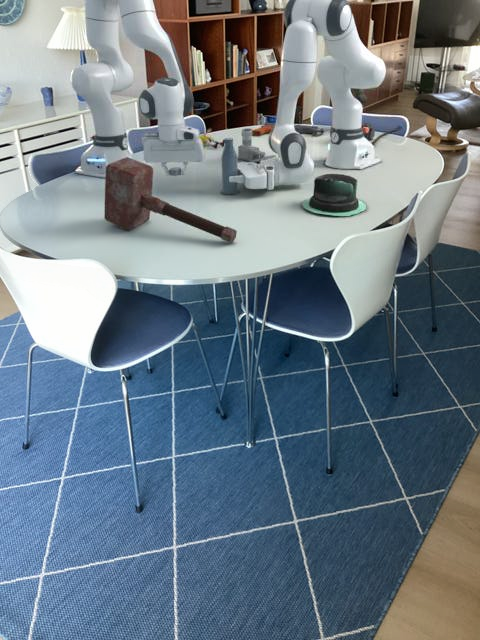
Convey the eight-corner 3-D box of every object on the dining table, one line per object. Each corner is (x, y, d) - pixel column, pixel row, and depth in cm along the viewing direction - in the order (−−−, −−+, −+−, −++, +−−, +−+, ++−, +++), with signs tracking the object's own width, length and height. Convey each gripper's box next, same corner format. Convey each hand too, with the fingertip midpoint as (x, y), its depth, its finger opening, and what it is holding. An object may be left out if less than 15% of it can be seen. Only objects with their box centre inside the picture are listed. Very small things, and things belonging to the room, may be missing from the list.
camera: (247, 126, 226) (276, 132, 217) (247, 155, 232) (275, 162, 223) (233, 130, 220) (262, 135, 212) (233, 160, 226) (261, 166, 218)
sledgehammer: (247, 201, 148) (125, 155, 160) (230, 213, 141) (104, 163, 152) (236, 257, 158) (122, 210, 170) (220, 270, 151) (102, 220, 162)
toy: (345, 120, 249) (377, 123, 242) (343, 139, 253) (375, 143, 246) (337, 123, 243) (369, 127, 236) (336, 143, 247) (367, 147, 240)
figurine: (211, 139, 238) (170, 125, 250) (210, 157, 242) (170, 142, 255) (230, 134, 247) (190, 120, 259) (229, 150, 251) (189, 136, 263)
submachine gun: (243, 132, 260) (267, 122, 278) (243, 138, 261) (267, 127, 280) (305, 138, 246) (326, 127, 265) (305, 144, 248) (326, 133, 266)
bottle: (226, 195, 187) (225, 141, 178) (219, 191, 191) (218, 138, 182) (240, 193, 189) (239, 139, 180) (233, 189, 193) (232, 136, 184)
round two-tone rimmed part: (371, 195, 181) (367, 217, 164) (320, 217, 189) (311, 241, 173) (352, 153, 175) (346, 172, 159) (300, 178, 184) (289, 199, 168)
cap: (184, 174, 187) (183, 168, 186) (174, 176, 184) (174, 170, 183) (176, 172, 189) (176, 166, 188) (167, 174, 187) (166, 169, 186)
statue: (367, 132, 266) (374, 63, 251) (349, 133, 264) (355, 64, 249) (357, 127, 275) (362, 61, 260) (339, 129, 273) (344, 62, 258)
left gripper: (138, 135, 178) (143, 178, 185) (201, 134, 177) (204, 177, 184) (142, 131, 184) (147, 172, 191) (204, 130, 182) (206, 172, 189)
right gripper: (259, 156, 197) (221, 159, 195) (274, 171, 179) (232, 175, 177) (259, 174, 200) (222, 177, 198) (274, 191, 183) (232, 194, 180)
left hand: (175, 175), depth 187 cm, fingers closed on cap, 4 cm apart
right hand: (227, 176), depth 187 cm, fingers closed on bottle, 5 cm apart
